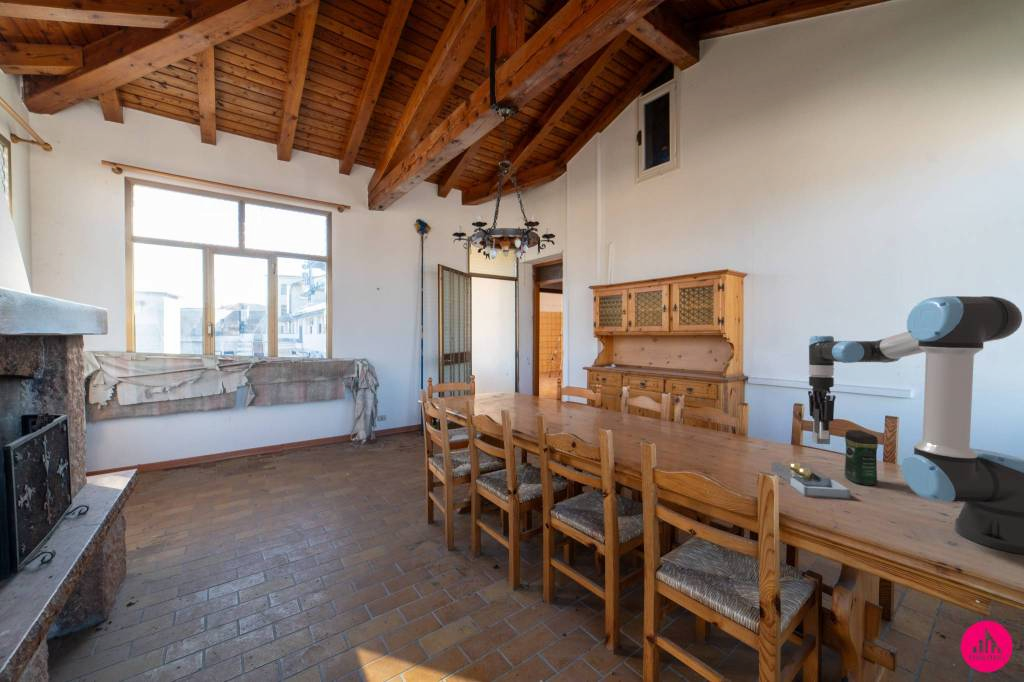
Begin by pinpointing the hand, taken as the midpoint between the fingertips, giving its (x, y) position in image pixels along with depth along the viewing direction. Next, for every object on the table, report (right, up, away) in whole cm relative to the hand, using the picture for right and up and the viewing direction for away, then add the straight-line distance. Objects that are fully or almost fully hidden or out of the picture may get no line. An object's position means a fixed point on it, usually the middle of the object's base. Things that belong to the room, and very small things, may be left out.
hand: (821, 437), depth 154 cm
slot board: (-10, -15, -3) cm, 18 cm away
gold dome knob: (-11, -13, -6) cm, 18 cm away
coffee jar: (+11, -15, -5) cm, 19 cm away
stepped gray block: (0, -2, 0) cm, 2 cm away
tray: (-12, -15, -15) cm, 25 cm away
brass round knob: (-10, -13, -1) cm, 16 cm away
